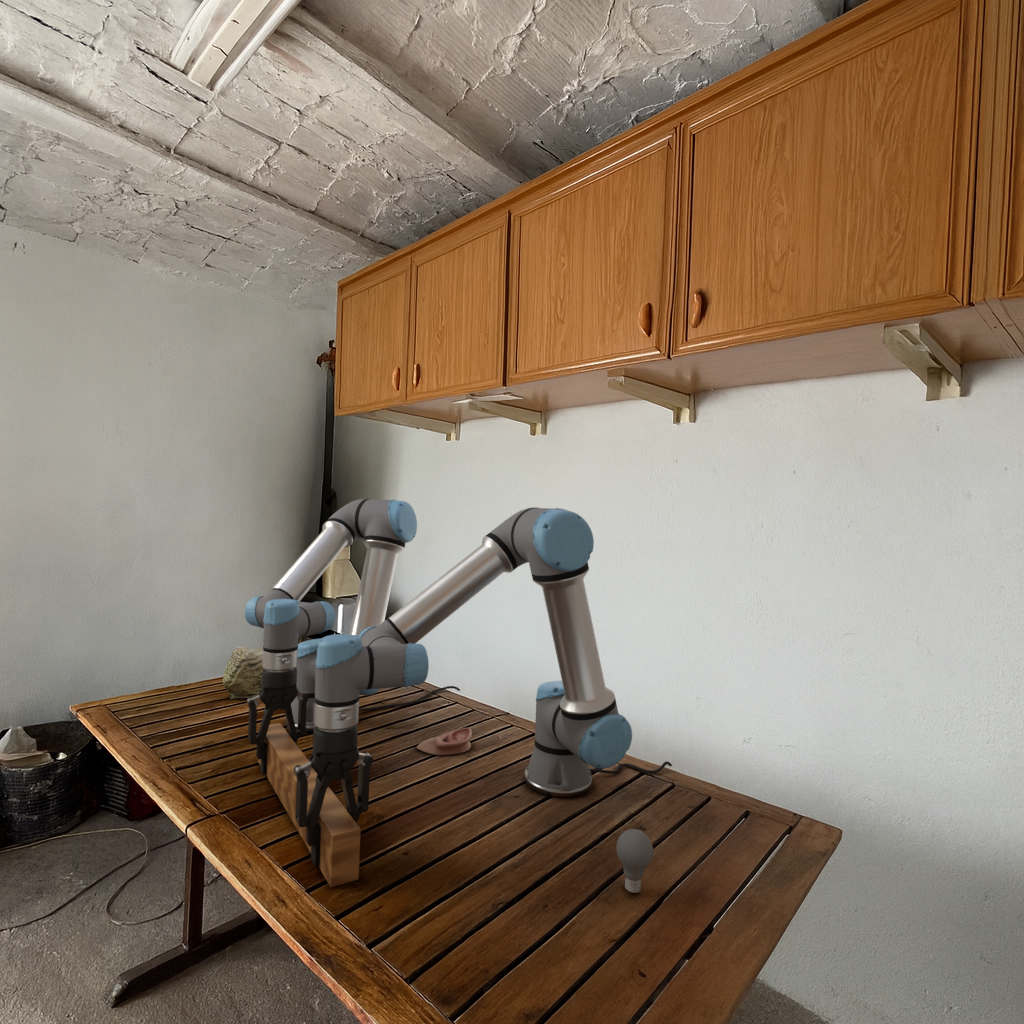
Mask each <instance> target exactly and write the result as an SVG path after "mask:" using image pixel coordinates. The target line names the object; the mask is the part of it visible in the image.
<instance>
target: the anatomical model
mask: <svg viewBox="0 0 1024 1024" xmlns="http://www.w3.org/2000/svg"><path fill="white" fill-rule="evenodd" d="M472 737H473V731H472V729H471V728H470V727H462V728H459V729H455V730H451V731H449V732H447V733H443V734H441V735H438V736H435V737H431V738H427V739H425V740H423V741H421V742H419V744H418V745H417V746H416V749H417V750H419V751H421V752H423V753H426V754H430V755H434V756H448V755H457V754H461V753H465V752H467V751H469V750H470V749H471V747H472V744H471V742H470V741H471V739H472Z"/></svg>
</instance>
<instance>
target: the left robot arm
mask: <svg viewBox="0 0 1024 1024" xmlns="http://www.w3.org/2000/svg"><path fill="white" fill-rule="evenodd" d="M321 528H322V530H321V532H320V533H319V534H318V535H317V536H316V537H315V539H314V540H313V541H312V542H311V544H309V545H308V547H307V548H306V549H305V550H304V551H303V552H302V554H300V556H299V557H298V558H297V559H296V560H295V561H294V563H293V564H292V565H291V566H290V567H289V568H288V570H287V571H286V572H285V573H284V574H283V575H282V576H281V577H280V579H278V581H277V582H276V583H275V584H274V585H273V586H272V588H271V589H270V590H269V591H268V592H267V594H266V595H264V596H263V595H260V596H259V595H258V596H253V597H251V598H250V599H249V600H248V601H247V603H246V605H245V607H244V617H245V620H246V622H247V624H249V625H251V626H253V627H257V628H259V629H260V628H261V629H263V635H262V636H263V637H262V640H263V641H262V642H263V643H262V644H263V645H262V649H263V661H262V667H263V668H264V670H263V671H262V687H261V691H260V693H259V695H258V696H256V697H252V698H246V704H247V706H248V729H247V740H248V743H250V745H256V747H255V748H256V749H255V750H256V752H255V756H256V758H257V760H258V759H261V766H260V765H259V766H260V767H259V768H260V769H259V770H260V772H261V774H262V775H265V774H266V773H267V746H268V745H267V744H266V742H265V738H266V735H267V731H268V728H269V725H271V722H272V718H273V716H274V712H275V711H278V710H283V711H284V718H285V726H286V728H287V730H288V734H289V735H290V737H291V738H292V739H293V741H294V742H295V743H296V745H297V746H298V740H299V738H300V737H304V736H305V735H306V733H313V730H314V728H315V725H314V707H315V676H316V665H315V663H316V659H317V649H318V643H319V641H320V640H321V639H322V638H323V637H321V638H313V639H307V640H304V641H302V642H299V639H302V638H304V637H309V636H313V635H317V634H319V635H320V634H322V633H323V632H327V631H329V630H330V629H331V628H333V626H334V624H335V622H336V611H335V609H334V607H333V605H331V603H329V602H328V601H324V600H323V601H322V600H321V601H318V600H317V601H313V602H306V601H302V600H303V598H304V597H305V596H306V595H307V594H308V592H309V591H310V590H311V588H312V587H313V586H314V585H315V584H316V582H317V581H318V580H319V579H320V578H321V576H322V575H323V574H324V573H325V571H326V570H327V569H328V568H329V567H330V565H331V564H332V563H333V562H334V560H335V559H336V558H337V557H338V555H340V553H341V552H342V551H343V549H346V548H349V547H350V546H351V545H352V544H353V543H354V542H355V541H358V540H362V539H363V545H364V546H365V548H366V549H367V550H366V554H365V558H364V564H363V568H362V573H361V577H360V581H359V582H360V583H359V587H358V592H357V596H356V600H355V605H354V609H353V610H354V611H353V614H352V619H351V624H350V629H349V633H348V634H349V635H355V636H359V634H360V633H361V632H362V631H363V630H364V629H366V628H368V627H372V626H379V625H380V624H381V623H382V622H384V621H385V620H386V619H385V618H386V616H387V611H388V610H387V609H388V605H389V601H390V600H389V599H390V595H391V590H392V585H393V581H394V575H395V570H396V565H397V561H398V556H399V554H401V553H403V552H404V551H405V549H406V544H408V543H410V542H412V541H413V540H414V538H415V537H416V535H417V532H418V519H417V514H416V512H415V510H414V508H413V507H412V505H411V504H410V503H408V502H406V501H404V500H397V499H375V498H373V499H372V498H360V499H359V498H358V499H356V500H353V501H350V502H349V503H346V504H345V505H344V506H342V507H341V508H338V510H336V511H335V512H334V513H333V514H332V515H331V516H330V517H329V518H328V519H326V521H325V522H324V523H323V524H322V526H321ZM448 689H454V690H457V692H460V691H461V688H459V687H457V686H455V685H447V686H443V687H440V688H437V689H433V690H430V691H429V692H427V693H426V694H425V695H422V696H421V697H418V698H416V699H414V700H411V701H407V702H399V703H390V704H384V705H377V706H371V707H370V706H369V707H359V712H365V711H373V710H379V709H386V708H392V707H402V706H407V705H412V704H415V703H418V702H420V701H421V700H424V699H426V698H428V697H429V696H431V695H432V694H434V693H437V692H441V691H444V690H448ZM379 691H380V689H368V690H360V693H359V696H372V695H374V694H376V693H377V692H379ZM260 701H261V702H262V703H263V705H264V709H263V715H262V718H261V722H260V725H259V726H260V729H259V728H258V732H257V725H258V724H257V723H258V709H257V708H258V707H259V705H260Z"/></svg>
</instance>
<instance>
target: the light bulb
mask: <svg viewBox="0 0 1024 1024" xmlns="http://www.w3.org/2000/svg"><path fill="white" fill-rule="evenodd" d="M615 849H616V854H617V857H618V859H619V861H620V863H621V865H622V867H623V873H624V874H623V875H624V876H625V878H624V888H625V890H627V891H628V892H630V893H634V894H635V893H639V892H640V891H641V889H642V887H641V886H642V879H643V877H644V875H645V871H646V868H647V867H648V866H649V864H650V863H651V861H652V859H653V855H654V847H653V843H652V841H651V838H649V836H648V835H647V834H646V833H645V832H643V831H642V830H641V829H636V828H629V829H627V830H625V831H623V832H622V833H621V834H620V835H619V837H618V839H617V841H616V847H615Z"/></svg>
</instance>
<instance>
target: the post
mask: <svg viewBox="0 0 1024 1024" xmlns="http://www.w3.org/2000/svg"><path fill="white" fill-rule="evenodd" d="M259 729H260V725H259V728H258V730H259ZM265 742H266V744H267V745H268V746H267V773H266V774H264V775H265V776H266V778H267V780H268V781H269V784H270V785H271V787H272V789H273V790H274V792H275V794H276V795H277V797H278V799H279V801H280V802H281V804H282V806H283V808H284V809H285V811H286V813H287V815H288V816H289V818H290V820H291V821H292V823H293V825H294V827H295V829H296V830H297V833H298V834H299V835H300V837H301V838H302V840H303V842H304V845H305V846H306V848H307V849H308V851H309V853H310V854H311V846H309V845H308V843H307V841H306V827H300V826H299V825H298V823H297V821H296V819H295V815H296V791H297V777H296V775H295V772H294V767H295V766H296V765H300V766H302V765H304V764H306V763H308V762H309V760H310V759H309V758H308V757H307V756H306V755H305V754H304V752H303V751H302V750H301V749H300V747H299V746H298V744H297V745H296V743H295V742H294V741H293V739H292V738H291V737H290V734H289V732H287V730H286V729H285V727H284V726H283V725H282V724H281V723H280V722H279V723H272V724H271V723H270V724H269V728H268V731H267V735H266V738H265ZM257 762H258V764H259V766H261V759H258V758H257ZM316 776H317V773H316V772H315V771H314V769H311V770H310V776H309V778H307V780H308V796H307V813H308V810H309V806H310V802H311V799H312V795H313V791H314V788H315V784H316ZM318 824H319V825H320V827H321V842H320V865H318V866H317V867H318V868H319V870H320V872H321V873H322V875H323V877H324V879H325V880H326V882H327V884H328V885H329V887H330V888H334V887H339V886H341V885H345V884H347V883H351V882H354V881H358V880H360V879H359V878H360V856H361V827H360V826H359V825H358V822H357V823H356V822H355V821H354V819H353V818H352V817H351V816H350V814H349V813H348V811H347V808H346V807H345V806H344V805H343V803H342V802H341V801H340V800H339V799H338V797H337V796H336V794H335V793H334V792H333V791H332V789H331V788H330V786H328V788H327V789H326V793H325V797H324V800H323V804H322V808H321V811H320V815H319V819H318Z"/></svg>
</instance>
